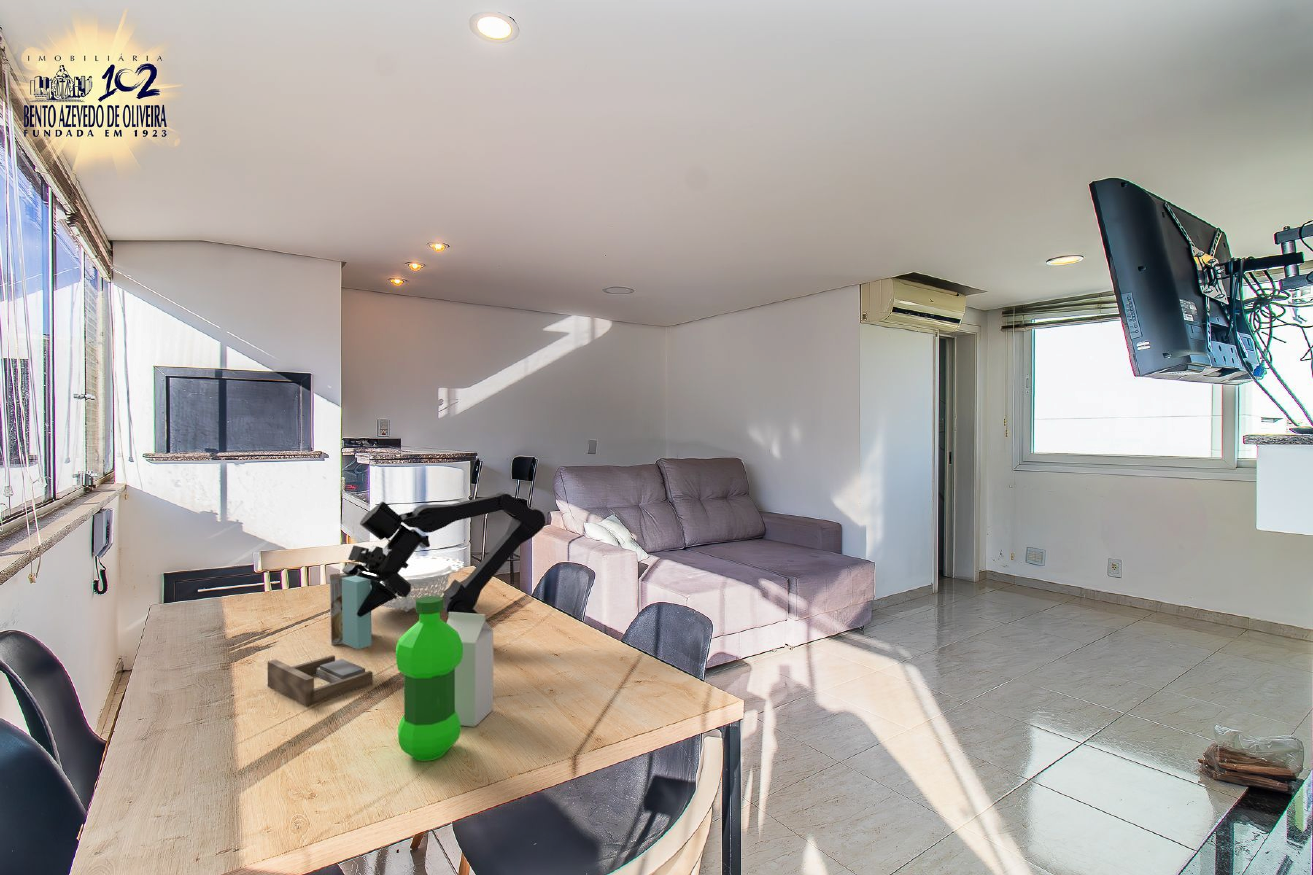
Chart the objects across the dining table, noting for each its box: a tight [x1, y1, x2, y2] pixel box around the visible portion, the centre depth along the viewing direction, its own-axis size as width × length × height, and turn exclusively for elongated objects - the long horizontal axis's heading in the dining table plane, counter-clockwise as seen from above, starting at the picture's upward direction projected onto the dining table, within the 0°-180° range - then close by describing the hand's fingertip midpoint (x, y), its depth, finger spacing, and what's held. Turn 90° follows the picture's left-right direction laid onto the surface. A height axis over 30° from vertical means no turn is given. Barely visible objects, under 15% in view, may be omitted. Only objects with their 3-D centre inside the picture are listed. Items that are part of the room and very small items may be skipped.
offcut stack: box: [315, 658, 366, 684], centre depth 135 cm, size 11×5×2 cm, turn 54°
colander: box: [360, 555, 466, 613], centre depth 183 cm, size 32×32×13 cm
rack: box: [267, 654, 374, 707], centre depth 132 cm, size 16×13×5 cm
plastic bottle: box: [395, 595, 463, 762], centre depth 105 cm, size 10×10×25 cm
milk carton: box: [446, 612, 494, 727], centre depth 118 cm, size 7×7×19 cm
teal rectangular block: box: [342, 576, 372, 650], centre depth 137 cm, size 6×3×14 cm, turn 54°
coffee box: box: [329, 572, 373, 646], centre depth 160 cm, size 9×6×16 cm
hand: (350, 613), depth 136 cm, fingers closed on teal rectangular block, 6 cm apart
